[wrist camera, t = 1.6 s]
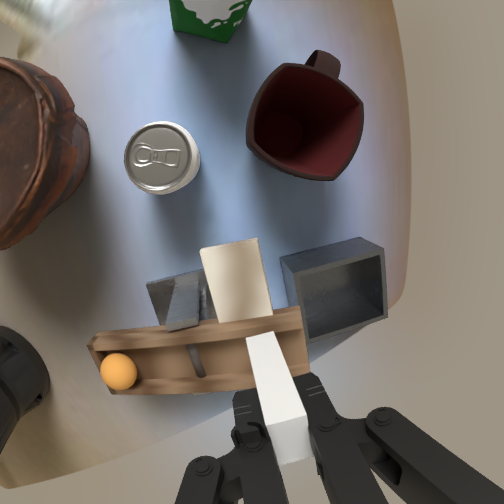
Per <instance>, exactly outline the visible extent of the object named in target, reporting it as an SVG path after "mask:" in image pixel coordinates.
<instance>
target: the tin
mask: <svg viewBox="0 0 504 504" xmlns="http://www.w3.org/2000/svg"><path fill="white" fill-rule="evenodd" d="M280 262H281V267H282V272H283V277H284V282H285V288H286V293H287V298H288V303H289V307H293V306H299V305H300V310H301V316H302V322H303V328H304V334H305V340H306V344H309V343H312V342H316V341H319V340H322V339H325V338H329V337H332V336H335V335H338V334H341V333H344V332H347V331H350V330H353V329H356V328H359V327H362V326H365V325H368V324H371V323H373V322H376V321H379V320H382V319H385V318H388V305H387V284H386V268H385V255H384V248H382V247H380V246H378V245H376V244H374V243H372V242H370V241H367V240H365V239H363V238H361V237H357V238H353V239H349V240H346V241H342V242H338V243H334V244H330V245H326V246H322V247H318V248H314V249H310V250H306V251H302V252H298V253H294V254H290V255H286V256H282V257H280Z"/></svg>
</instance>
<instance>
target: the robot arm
mask: <svg viewBox="0 0 504 504" xmlns="http://www.w3.org/2000/svg"><path fill="white" fill-rule="evenodd" d="M246 342H247V347H248V351H249V356H250V360H251V365H252V369H253V374H254V378H255V382H256V388H252V389H248V390H243V391H239V392H236V393H235V395H234V398H233V400H232V401H233V409H234V417H235V425H236V426H235V427H234V428H233V429H232V431H231V437H232V440H233V442H234V445H235V447H234V449H233V450H232V451H231V452H230V453H228V454H226V455H225V456H222V457H220V458H218V459H216V458H214V457H211V456H200V457H198V458H195V459H194V460H192V461H191V462H190V463H189V465H188V466H187V468H186V471H185V474H184V477H183V480H182V483H181V486H180V489H179V492H178V495H177V498H176V501H175V504H238V500H239V499H241V498H243V500H244V504H289V501H288V498H287V494H286V490H285V487H284V483H283V479H282V475H281V472H280V470H279V466H280V465H284V464H288V463H291V462H295V461H299V460H302V459H306V458H309V457H313V454H314V456H315V459H316V465H317V472H318V475H320V477H321V479H322V482H323V485H324V487H325V490H326V493H327V496H328V498H329V501H330V503H331V504H388V502H387V500H386V498H385V496H384V494H383V492H382V490H381V488H380V487H379V485H378V483H377V481H376V479H375V477H374V475H373V473H372V471H371V469H372V470H373V471H374V472H375V473H376V474H377V475H378V476H379V477H380V478H381V479H382V480H383V481H384V482H385V483H386V484H387V485H388V486H389V487H390V488H391V489H392V490H393V491H394V492H395V493H396V494H397V495H398V496H399V497H400V498H401V499H403V501H405V502H406V503H407V504H504V490H503V489H502V488H500V487H499V486H497V485H496V484H494V483H493V482H492V481H490V480H489V479H487V478H486V477H485V476H483V475H482V474H481V473H479V472H478V471H476V470H475V469H474V468H472V467H470V466H469V465H468V464H467V463H465V462H464V461H463V460H461V459H460V458H458V457H457V456H456V455H454V454H453V453H452V452H450V451H449V450H448V449H446V448H445V447H444V446H442V445H441V444H439V443H438V442H437V441H436V440H434V439H433V438H432V437H430V436H429V435H428V434H426V433H425V432H424V431H422V430H421V429H420V428H418V427H417V426H416V425H415V424H413V423H412V422H411V421H409V420H408V419H407V418H405V417H404V416H403V415H402V414H400V413H399V412H398V411H396V410H395V409H393V408H389V407H380V408H377V409H374V410H372V411H371V412H370V413H369V414H368V416H367V418H362V419H347V418H344V417H341V416H340V415H339V414H337V412H336V410H335V408H334V406H333V405H332V403H331V401H330V399H329V397H328V395H327V393H326V391H325V389H324V387H323V386H322V383H321V381H320V380H319V378H318V377H317V376H316V375H314V374H313V373H311V372H309V373H306V374H302V375H299V376H295V377H291V374H290V372H289V369H288V367H287V364H286V362H285V359H284V357H283V354H282V352H281V349H280V347H279V344H278V341H277V339H276V336H275V334H274V331H271V332H267V333H264V334H260V335H256V336H252V337H247V338H246ZM48 390H49V376H48V372H47V369H46V367H45V365H44V362H43V361H42V359H41V357H40V356H39V354H38V353H37V351H36V350H35V349H34V348H33V346H32V345H31V344H30V343H29V342H28V341H27V340H26V339H25V338H23V337H22V336H21V335H20V334H18V333H17V332H15V331H13V330H12V329H10V328H7V327H4V326H0V454H1V452H2V450H3V448H4V446H5V444H6V442H7V440H8V438H9V437H10V435H11V433H12V431H13V429H14V427H15V426H16V424H17V422H18V420H19V419H20V417H22V416H23V415H25V414H26V413H28V412H29V411H31V410H32V409H34V408H35V407H37V406H38V405H40V404H41V403H42V401H43V400H44V398H45V396H46V395H47V393H48ZM370 468H371V469H370Z"/></svg>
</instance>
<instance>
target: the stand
mask: <svg viewBox="0 0 504 504" xmlns="http://www.w3.org/2000/svg"><path fill="white" fill-rule="evenodd" d="M146 286H147V289H148V292H149V295H150V298H151V301H152V304H153V307H154V309H155V312H156V315H157V318H158V321H159V323H160V326H162V325H166V328H167V330H168V331H173V330H177V329H182V328H186V327H191V326H195V325H198V322H199V321H202V320H210V319H217V318H218V317H217V313H216V310H215V306H214V303H213V299H212V296H211V292H210V289H209V285H208V282H207V278H206V274H205V271H204V269H200V270H196V271H192V272H188V273H184V274H180V275H176V276H172V277H167V278H163V279H159V280H155V281H151V282H147V284H146ZM207 393H212V392H206V393H192V394H193V396H197V395H202V394H207Z"/></svg>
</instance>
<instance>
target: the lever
mask: <svg viewBox="0 0 504 504" xmlns="http://www.w3.org/2000/svg"><path fill="white" fill-rule="evenodd" d="M199 252H200V256H201V259H202V263H203V267H204V271H205V274H206V278H207V282H208V285H209V289H210V292H211V296H212V299H213V303H214V306H215V310H216V313H217V317H218V318H217V319H210V320H202V321H199V322H198V325H195V326H191V327H186V328H182V329H177V330H173V331H168V330H167V328H166V325H162V326H153V327H144V328H135V329H125V330H114V331H103V332H98V333H97V334H96V335H95V336H94V337H93V338H92V339H91V340H90V341H89V342H88V344H87V347H88V349H89V351H90V353H91V355H92V358H93V360H94V362H95V364H96V366H97V368H98V370H99V372H100V367H101V364H102V361H103V360H104V359H105V358H106V357H107V356H108V355H110V354H113V353H121V354H125V355H127V356H128V357H130V358H131V359H132V360H133V362H134V363H135V365H136V368H137V378H136V380H135V382H134V384H133V385H132V386H131V387H129V388H128V389H125V390H115V389H112V388H110V387H109V386H108V385H107V387H108V389H109V391H110V392H111V394H119V395H161V394H189V393H206V392H220V391H232V390H242V389H252V388H256V382H255V378H254V374H253V369H252V365H251V360H250V356H249V351H248V347H247V342H246V338H247V337H252V336H256V335H260V334H264V333H267V332H271V331H274V334H275V336H276V339H277V341H278V344H279V347H280V349H281V352H282V354H283V357H284V359H285V362H286V364H287V367H288V369H289V372H290V374H291V377H295V376H299V375H302V374H306V373H309V372H310V366H309V359H308V353H307V347H306V340H305V334H304V328H303V322H302V316H301V310H300V305H299V306H293V307H287V308H282V309H276V310H273V308H272V303H271V298H270V293H269V289H268V284H267V279H266V275H265V270H264V265H263V261H262V256H261V251H260V247H259V242H258V238H253V239H247V240H242V241H237V242H232V243H226V244H221V245H216V246H211V247H206V248H202V249H201V250H200V251H199ZM100 374H101V373H100Z"/></svg>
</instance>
